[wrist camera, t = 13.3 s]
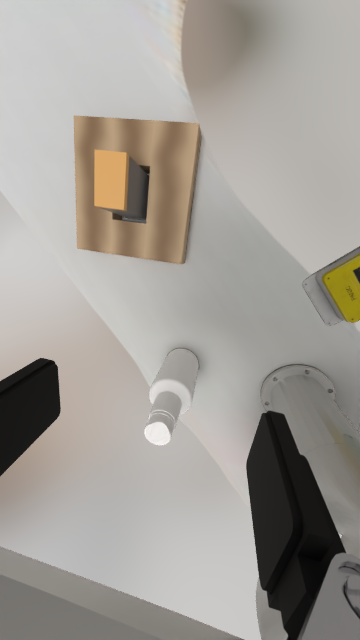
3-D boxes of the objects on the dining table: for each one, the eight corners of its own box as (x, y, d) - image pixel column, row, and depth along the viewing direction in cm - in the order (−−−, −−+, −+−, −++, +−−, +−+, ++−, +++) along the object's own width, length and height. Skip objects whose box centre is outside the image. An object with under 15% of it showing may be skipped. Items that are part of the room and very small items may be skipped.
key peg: (152, 179, 34) (126, 152, 25) (149, 220, 36) (123, 209, 26) (128, 177, 34) (94, 149, 25) (126, 217, 36) (94, 205, 27)
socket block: (201, 137, 31) (199, 123, 28) (184, 263, 37) (180, 264, 34) (88, 129, 33) (73, 115, 30) (89, 248, 39) (77, 248, 36)
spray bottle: (161, 369, 44) (125, 442, 27) (171, 342, 42) (139, 403, 25) (192, 382, 44) (174, 464, 27) (204, 355, 42) (192, 426, 25)
